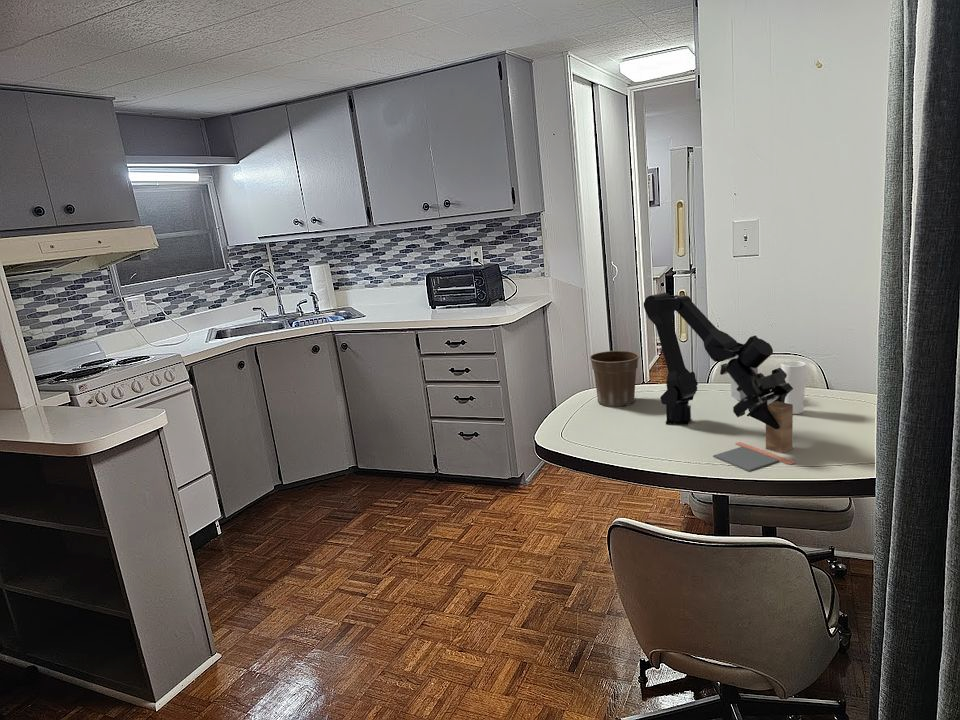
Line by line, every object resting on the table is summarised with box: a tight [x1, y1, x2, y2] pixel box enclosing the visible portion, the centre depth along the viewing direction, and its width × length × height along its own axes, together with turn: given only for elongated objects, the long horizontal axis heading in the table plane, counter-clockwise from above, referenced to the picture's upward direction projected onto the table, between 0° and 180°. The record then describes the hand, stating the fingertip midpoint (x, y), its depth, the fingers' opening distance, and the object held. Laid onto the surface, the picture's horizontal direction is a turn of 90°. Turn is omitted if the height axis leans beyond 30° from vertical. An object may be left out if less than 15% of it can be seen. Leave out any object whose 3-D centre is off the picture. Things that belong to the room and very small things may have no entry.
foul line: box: [735, 441, 796, 466], centre depth 172 cm, size 18×2×1 cm, turn 24°
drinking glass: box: [780, 360, 807, 415], centre depth 198 cm, size 7×7×15 cm
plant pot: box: [589, 350, 640, 408], centre depth 224 cm, size 16×16×16 cm
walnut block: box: [765, 401, 794, 454], centre depth 173 cm, size 5×5×12 cm
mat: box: [712, 446, 780, 472], centre depth 170 cm, size 12×10×1 cm
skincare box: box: [728, 355, 759, 402], centre depth 215 cm, size 8×7×16 cm
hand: (783, 425), depth 172 cm, fingers closed on walnut block, 5 cm apart
